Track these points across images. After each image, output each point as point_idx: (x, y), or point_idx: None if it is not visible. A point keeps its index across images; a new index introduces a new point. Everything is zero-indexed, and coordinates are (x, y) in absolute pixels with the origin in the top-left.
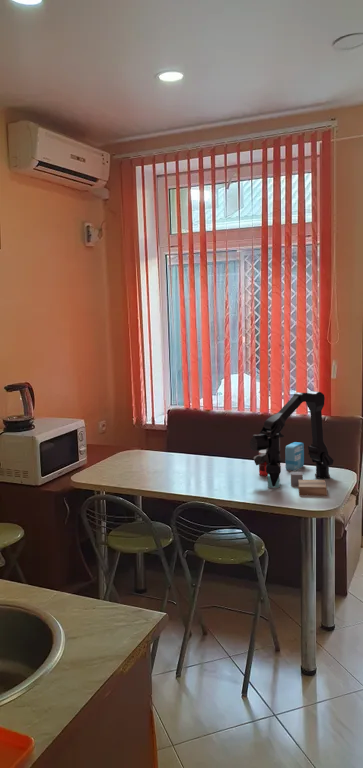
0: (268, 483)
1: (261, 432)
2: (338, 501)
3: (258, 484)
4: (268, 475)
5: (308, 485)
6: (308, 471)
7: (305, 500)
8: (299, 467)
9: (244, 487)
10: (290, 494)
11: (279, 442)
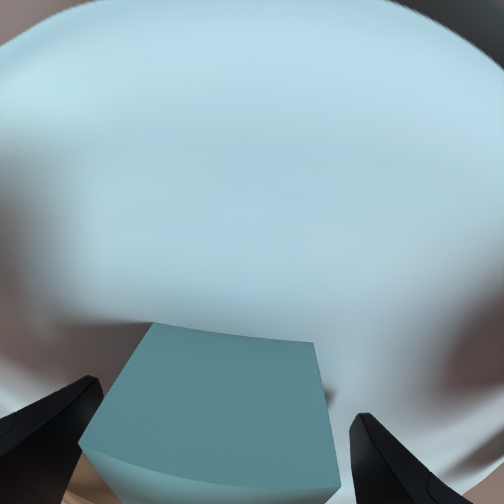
0: (134, 362)
1: None
2: None
3: (305, 202)
4: (134, 471)
5: (67, 498)
6: (469, 475)
7: (4, 415)
8: None
9: (149, 5)
10: None
11: None
